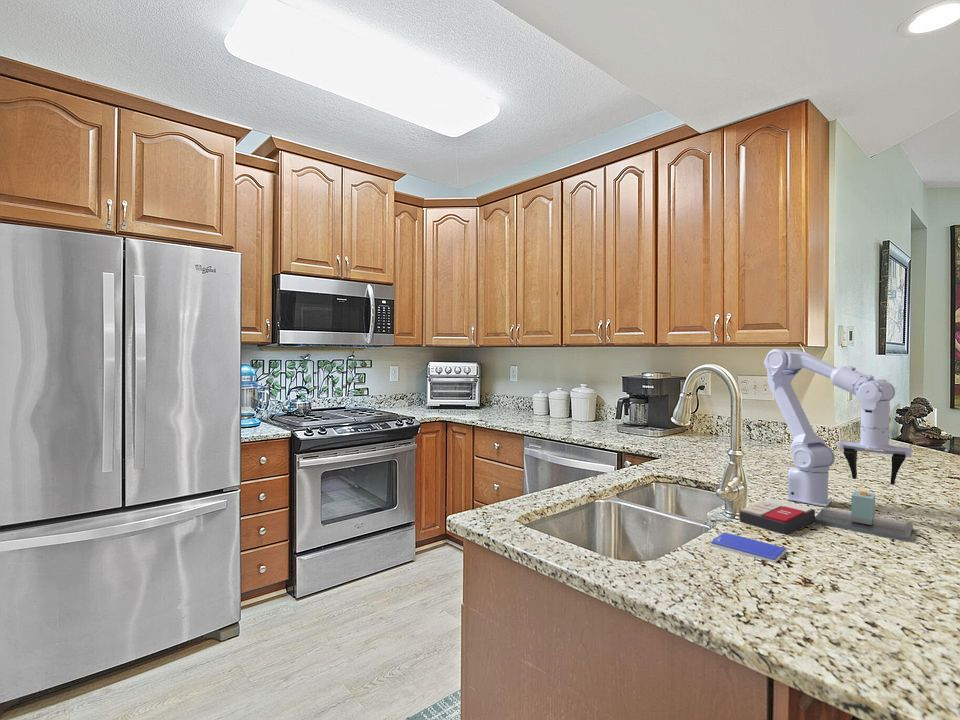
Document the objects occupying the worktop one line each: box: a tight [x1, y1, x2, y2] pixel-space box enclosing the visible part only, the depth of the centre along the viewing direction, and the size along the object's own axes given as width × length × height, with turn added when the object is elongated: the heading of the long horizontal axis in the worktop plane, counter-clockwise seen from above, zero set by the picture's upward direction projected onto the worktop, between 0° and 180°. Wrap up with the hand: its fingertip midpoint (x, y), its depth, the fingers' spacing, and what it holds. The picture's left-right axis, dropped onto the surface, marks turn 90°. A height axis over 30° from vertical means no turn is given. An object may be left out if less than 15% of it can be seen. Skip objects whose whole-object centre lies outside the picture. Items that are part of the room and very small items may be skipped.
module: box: [850, 489, 876, 525], centre depth 124 cm, size 4×6×7 cm, turn 137°
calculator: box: [739, 498, 816, 535], centre depth 125 cm, size 11×4×15 cm
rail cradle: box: [815, 506, 914, 543], centre depth 124 cm, size 18×12×2 cm, turn 47°
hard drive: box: [710, 531, 787, 564], centre depth 108 cm, size 2×8×12 cm
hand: (873, 481), depth 129 cm, fingers open, 7 cm apart
